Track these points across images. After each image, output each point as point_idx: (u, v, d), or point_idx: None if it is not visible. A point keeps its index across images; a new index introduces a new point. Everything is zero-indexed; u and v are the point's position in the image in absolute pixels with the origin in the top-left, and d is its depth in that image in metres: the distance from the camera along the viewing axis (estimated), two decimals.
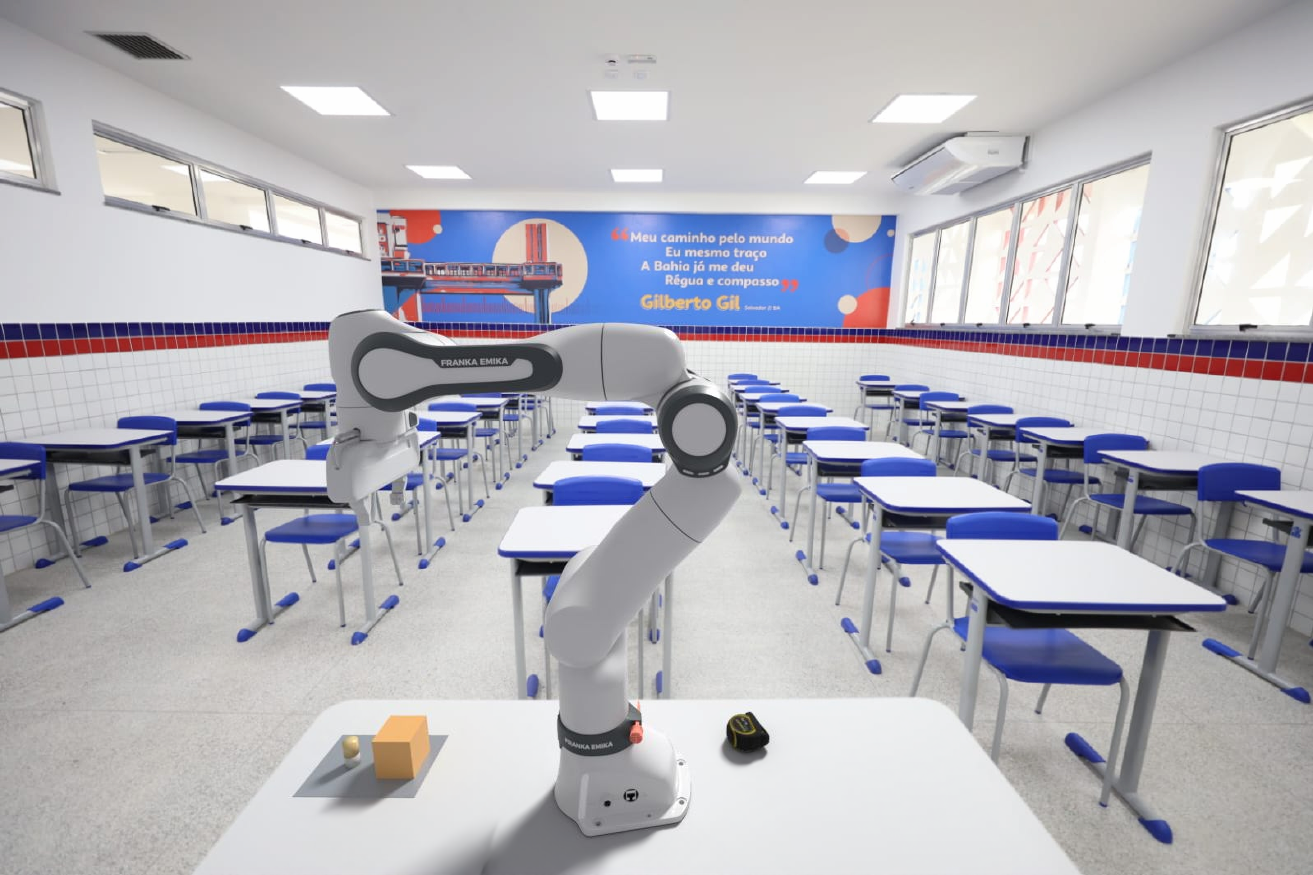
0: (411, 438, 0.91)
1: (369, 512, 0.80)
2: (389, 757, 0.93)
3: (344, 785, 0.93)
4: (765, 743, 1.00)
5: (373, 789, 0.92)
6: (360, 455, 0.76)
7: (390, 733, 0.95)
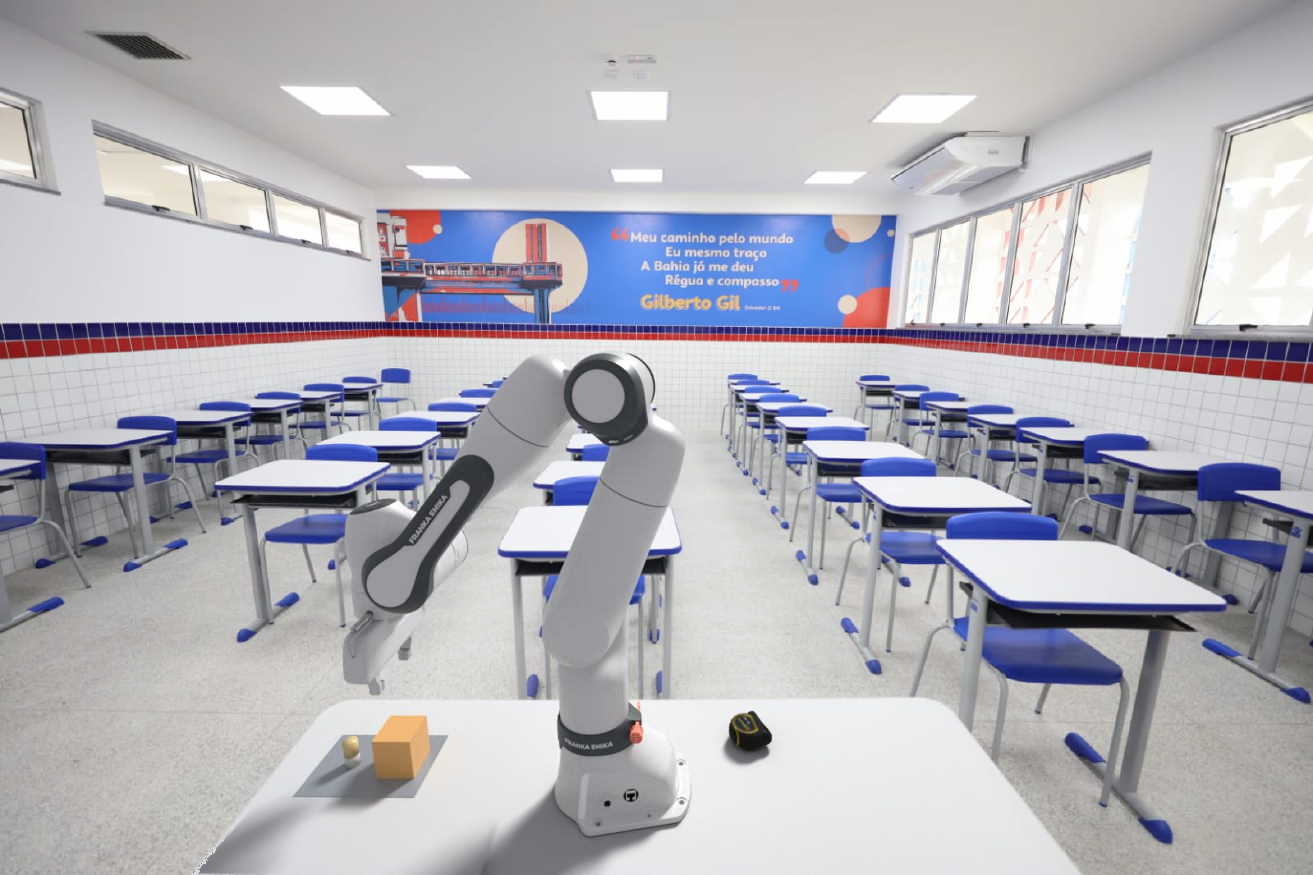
0: None
1: (380, 683, 0.88)
2: (389, 757, 0.93)
3: (344, 785, 0.93)
4: (768, 742, 1.00)
5: (373, 789, 0.92)
6: (373, 639, 0.85)
7: (390, 733, 0.95)
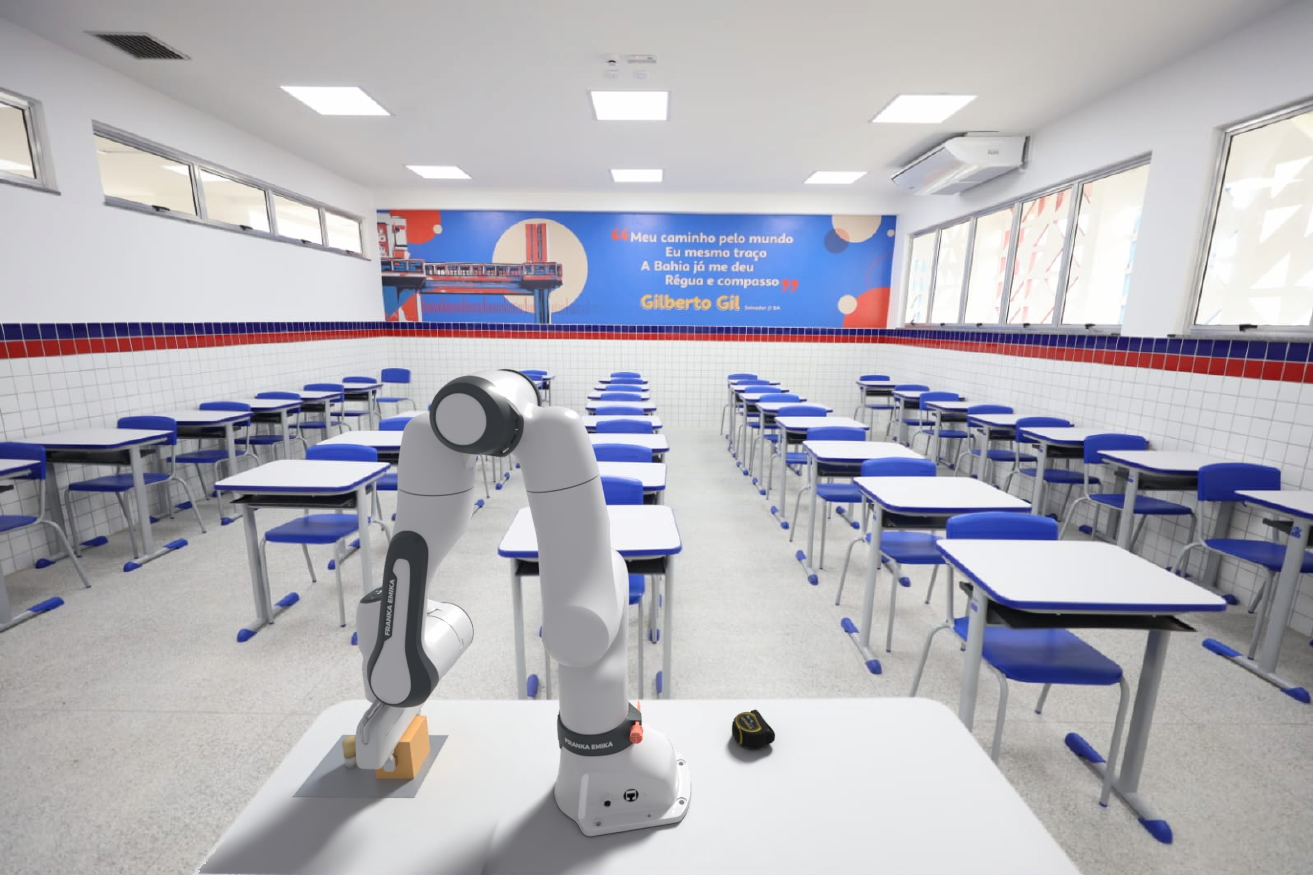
0: None
1: (394, 760, 0.92)
2: None
3: (344, 785, 0.93)
4: (771, 741, 1.01)
5: (373, 789, 0.92)
6: (385, 724, 0.88)
7: None
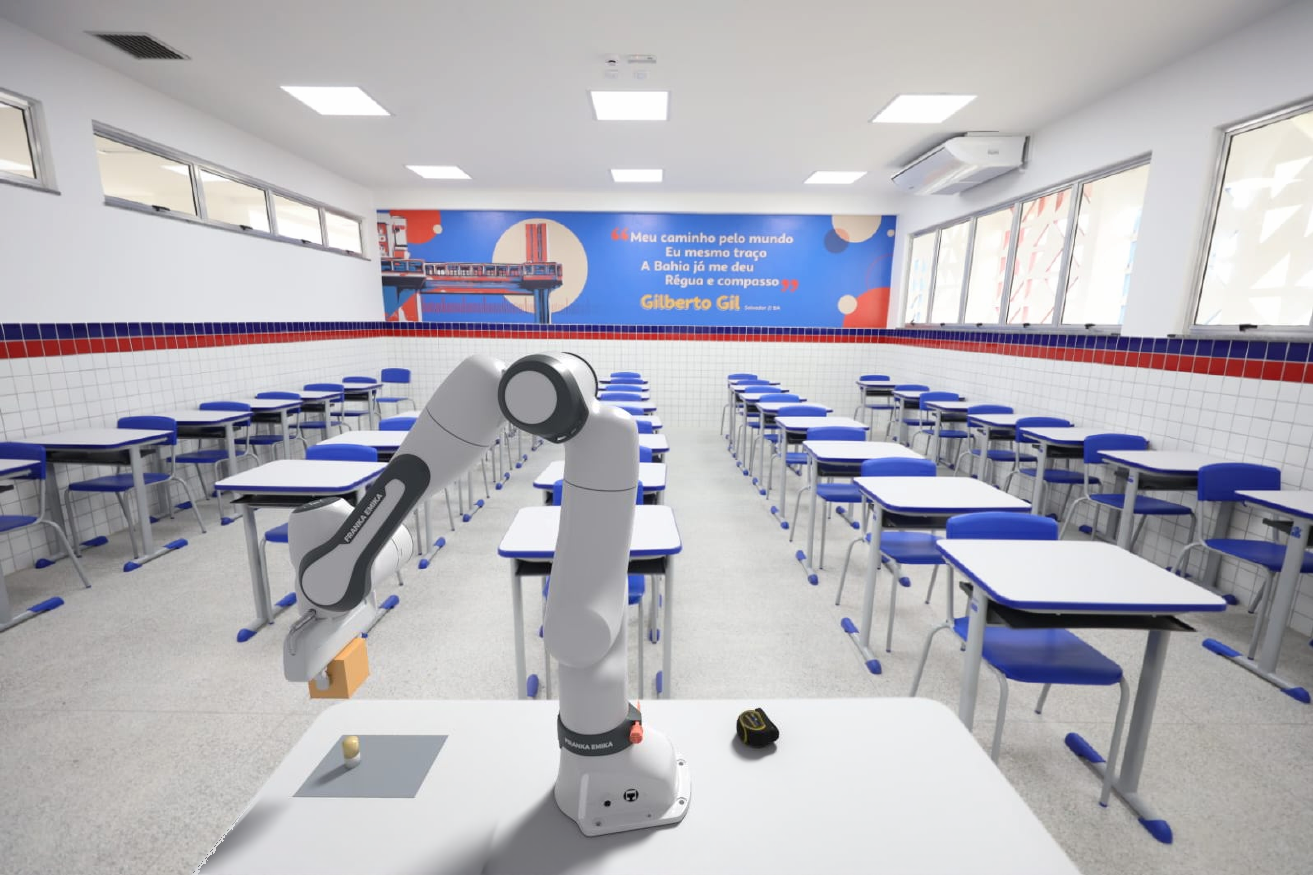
0: (368, 595, 1.00)
1: (327, 678, 0.89)
2: None
3: (344, 785, 0.93)
4: (775, 739, 1.01)
5: (373, 789, 0.92)
6: (315, 637, 0.85)
7: None
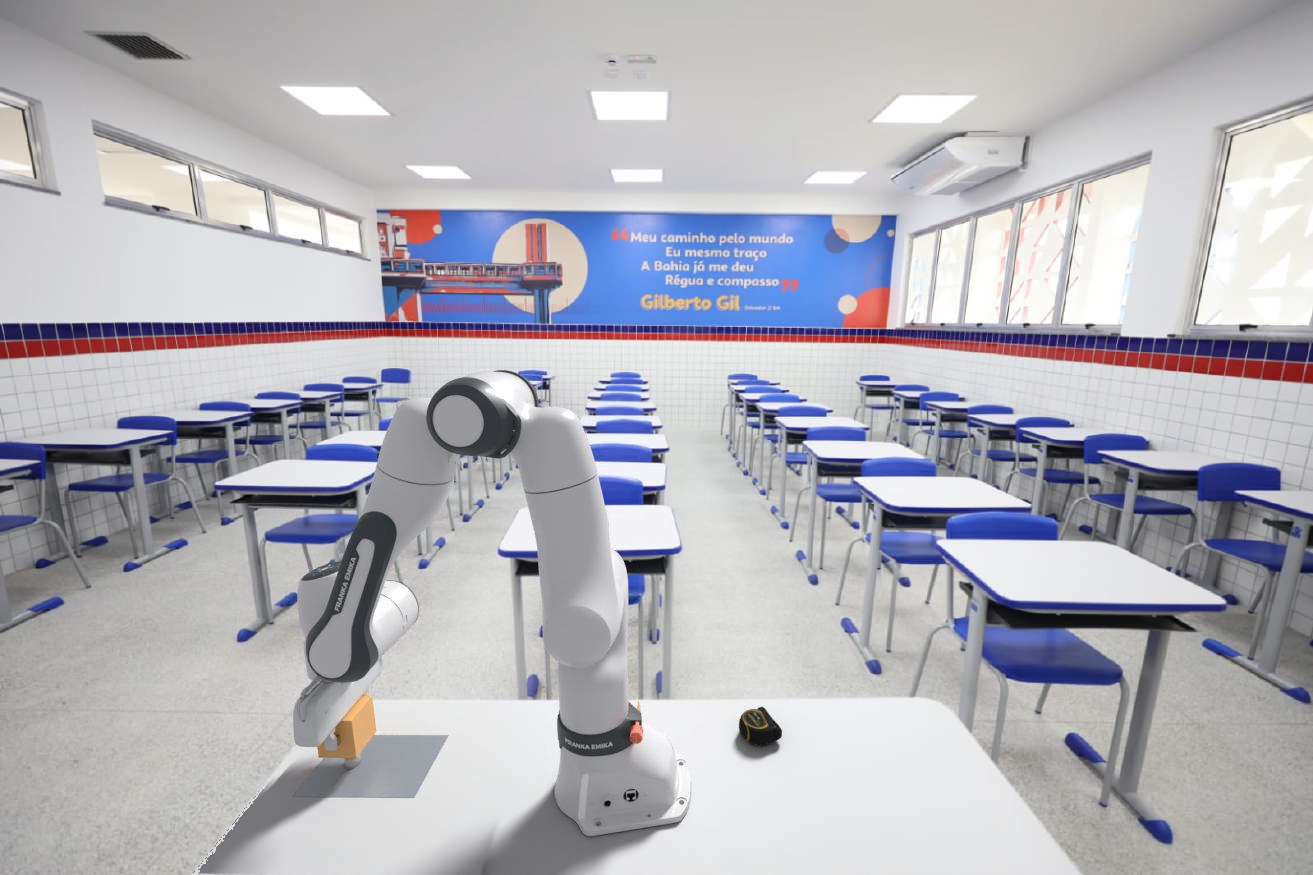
0: None
1: (335, 739, 0.92)
2: None
3: (344, 785, 0.93)
4: (778, 737, 1.01)
5: (373, 789, 0.92)
6: (324, 702, 0.87)
7: None
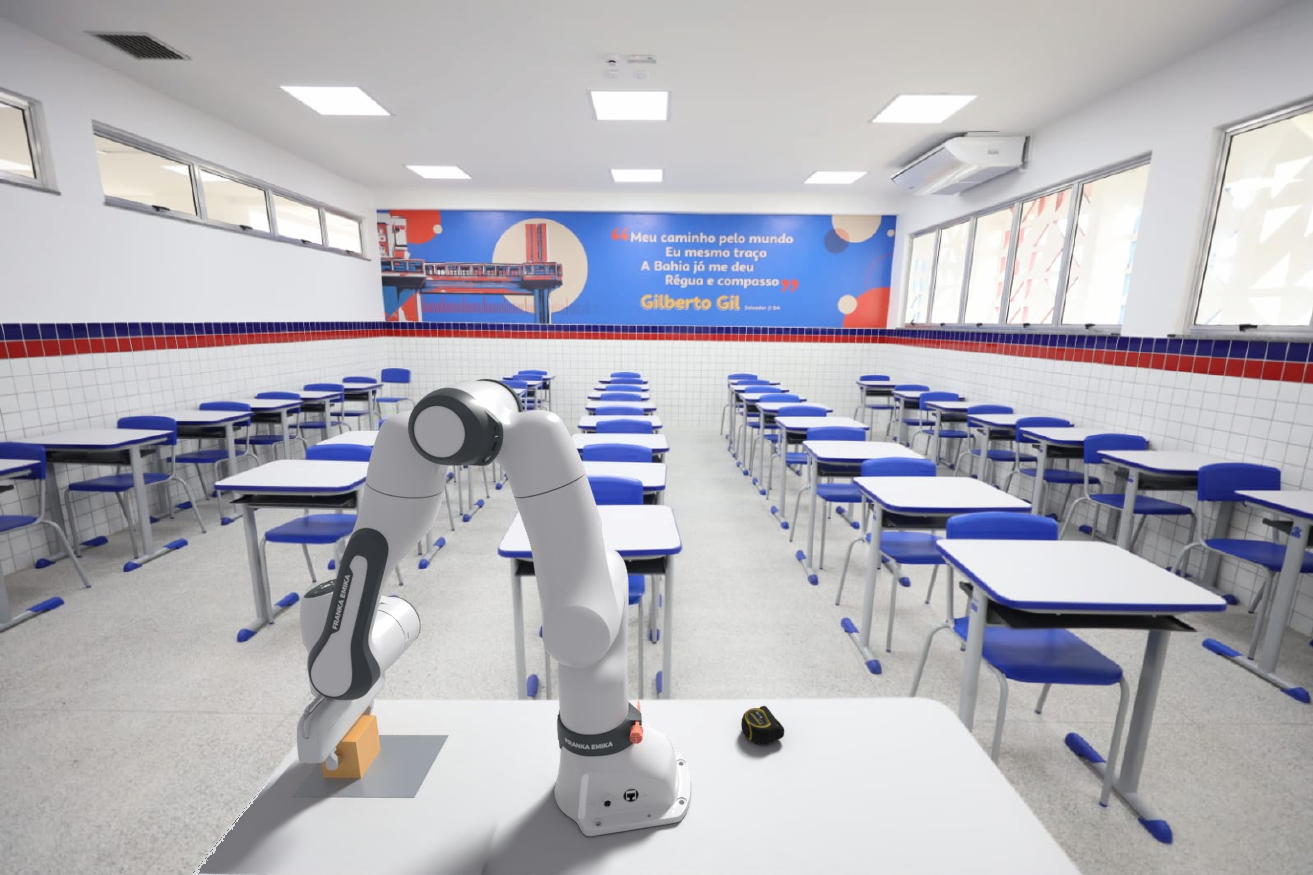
0: None
1: (336, 758, 0.91)
2: None
3: (344, 785, 0.93)
4: (780, 736, 1.02)
5: (373, 789, 0.92)
6: (327, 719, 0.88)
7: None
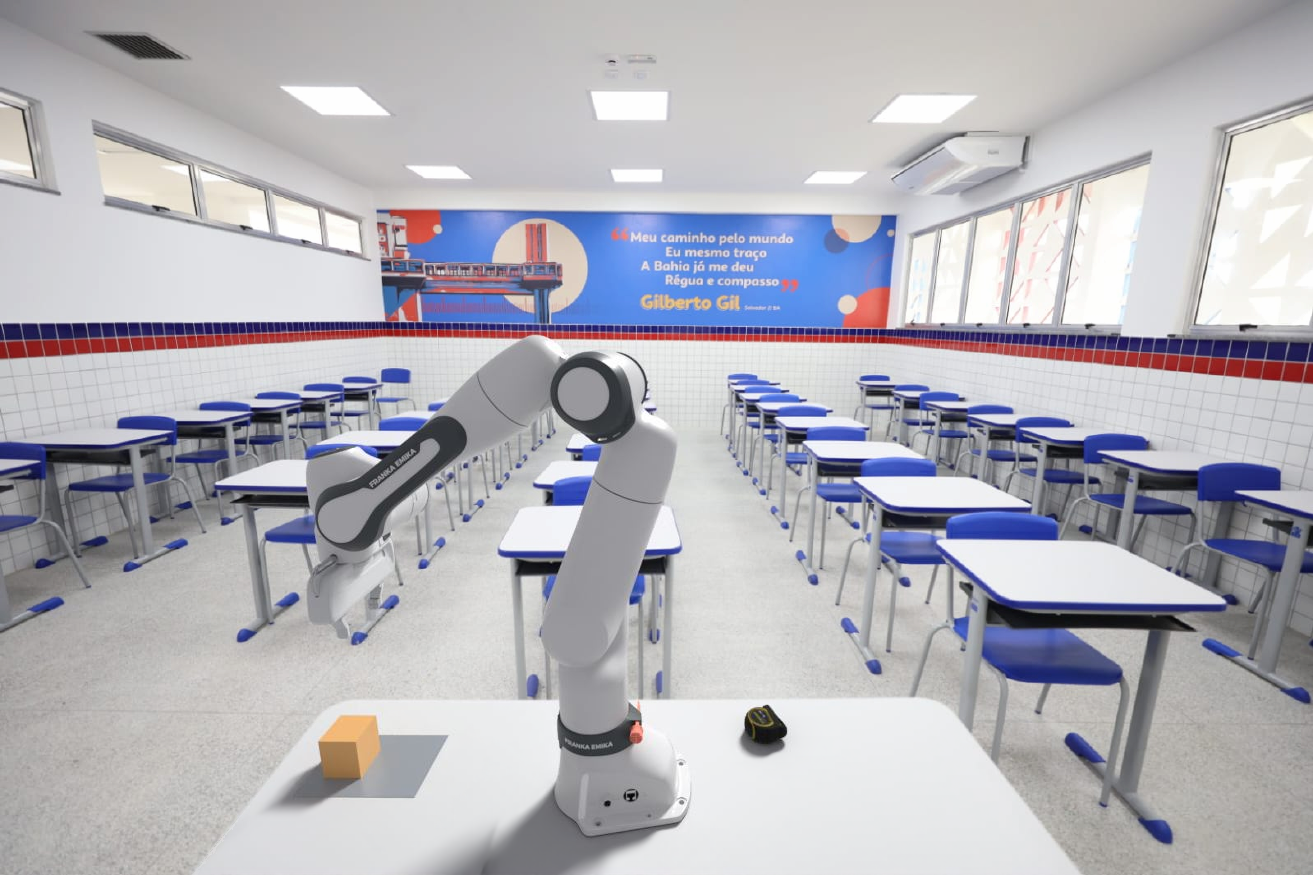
0: (386, 547, 1.01)
1: (347, 626, 0.90)
2: (335, 757, 0.94)
3: (344, 785, 0.93)
4: (783, 735, 1.02)
5: (373, 789, 0.92)
6: (337, 580, 0.86)
7: (338, 733, 0.95)
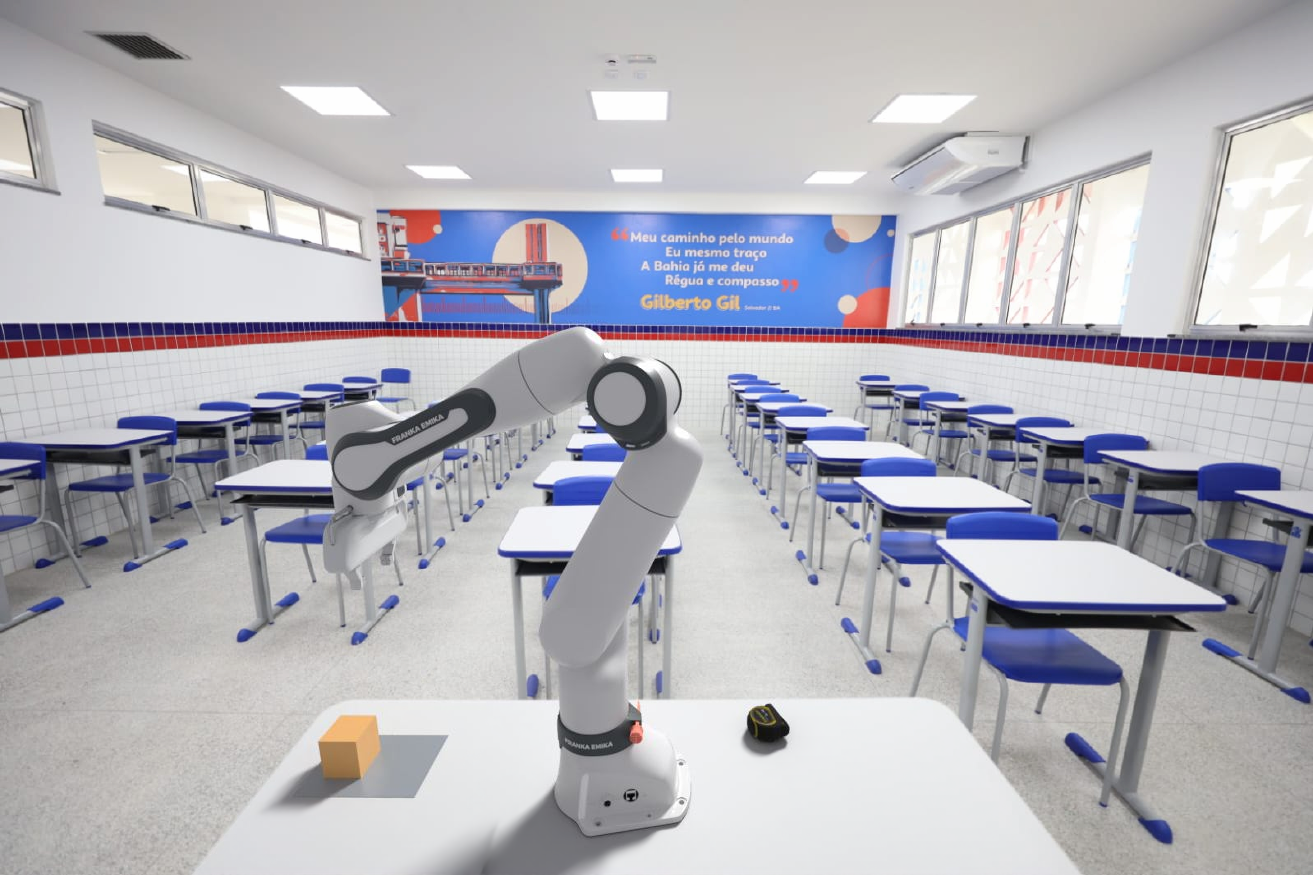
0: (400, 505, 1.01)
1: (361, 578, 0.90)
2: (335, 757, 0.94)
3: (344, 785, 0.93)
4: (785, 734, 1.02)
5: (373, 789, 0.92)
6: (353, 530, 0.87)
7: (338, 733, 0.95)
